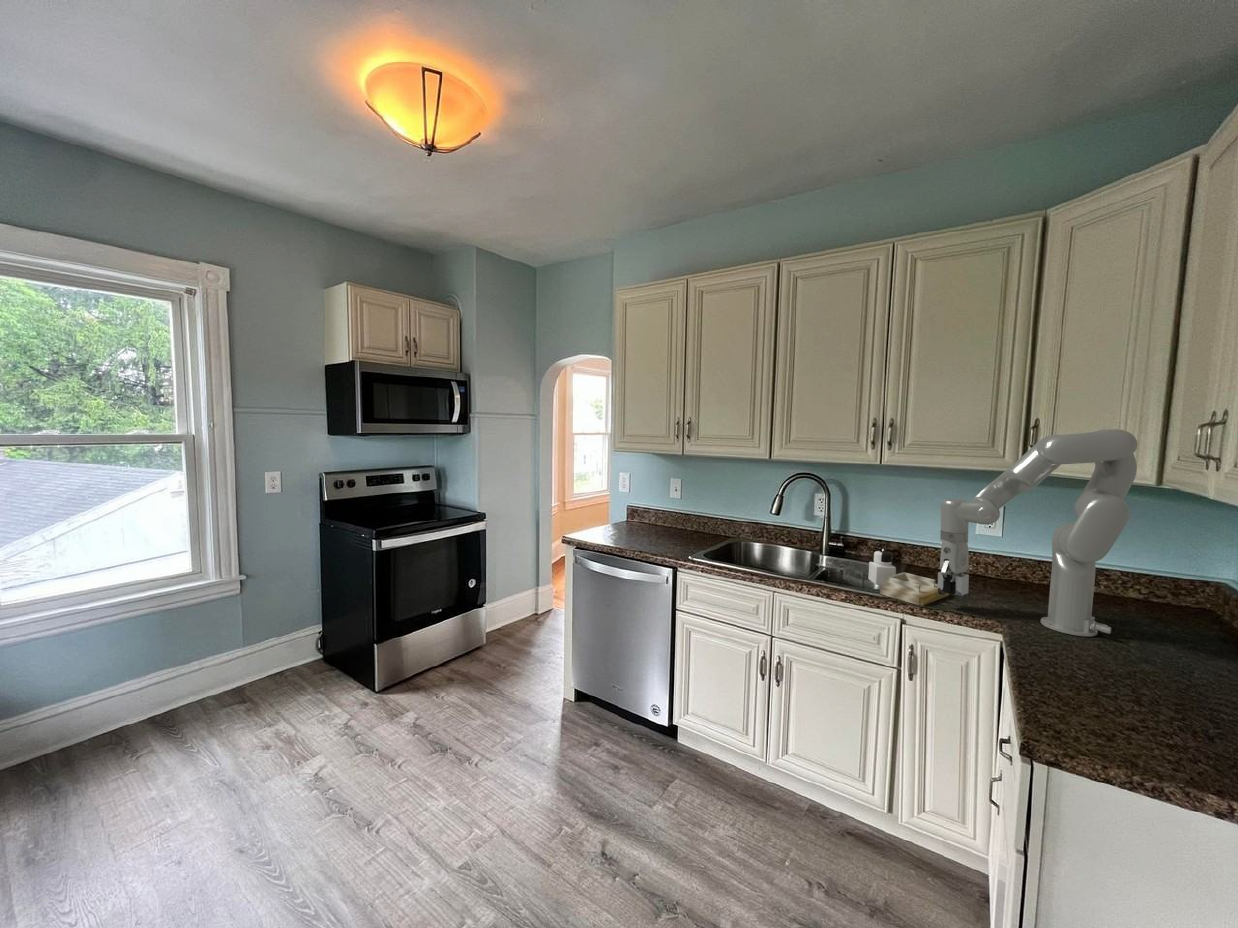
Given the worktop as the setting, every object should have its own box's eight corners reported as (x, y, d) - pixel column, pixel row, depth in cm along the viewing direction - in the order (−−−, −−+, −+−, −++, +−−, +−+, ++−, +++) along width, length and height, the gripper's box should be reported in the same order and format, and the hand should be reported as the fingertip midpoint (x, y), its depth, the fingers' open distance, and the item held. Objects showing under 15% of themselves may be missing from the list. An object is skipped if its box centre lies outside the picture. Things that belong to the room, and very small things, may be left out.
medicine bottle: (886, 580, 194) (888, 550, 193) (895, 585, 187) (897, 554, 186) (868, 579, 194) (869, 549, 193) (875, 584, 187) (877, 553, 186)
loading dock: (949, 595, 176) (950, 580, 176) (922, 605, 165) (923, 589, 165) (908, 584, 188) (908, 570, 188) (880, 593, 177) (880, 578, 176)
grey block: (968, 596, 161) (968, 574, 160) (961, 599, 158) (961, 577, 158) (944, 591, 167) (944, 570, 166) (937, 593, 164) (938, 572, 163)
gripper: (955, 541, 153) (954, 599, 154) (978, 535, 163) (977, 589, 164) (929, 538, 160) (928, 593, 161) (953, 531, 169) (951, 584, 170)
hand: (952, 590), depth 162 cm, fingers closed on grey block, 5 cm apart
